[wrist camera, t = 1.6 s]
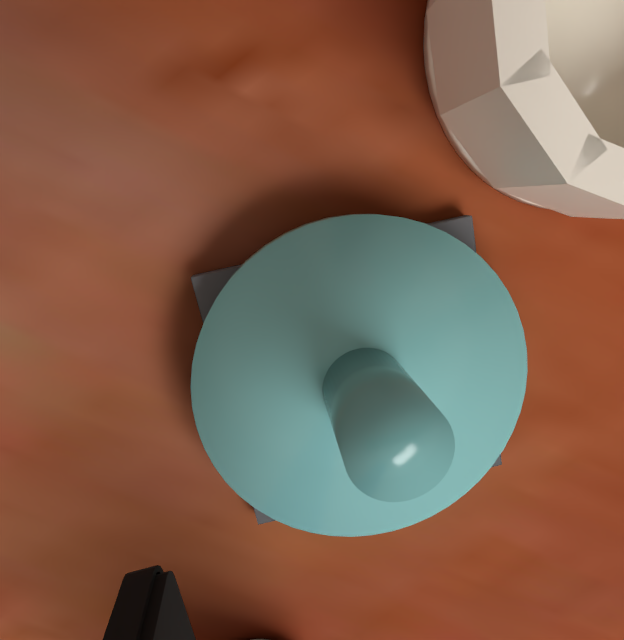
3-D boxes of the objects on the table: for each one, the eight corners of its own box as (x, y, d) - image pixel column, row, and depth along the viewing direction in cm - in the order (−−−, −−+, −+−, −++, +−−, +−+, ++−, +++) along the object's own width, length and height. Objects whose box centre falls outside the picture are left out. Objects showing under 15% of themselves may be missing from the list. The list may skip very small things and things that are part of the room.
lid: (495, 180, 17) (602, 171, 12) (527, 479, 20) (624, 580, 15) (153, 255, 16) (102, 281, 11) (239, 551, 19) (231, 684, 14)
